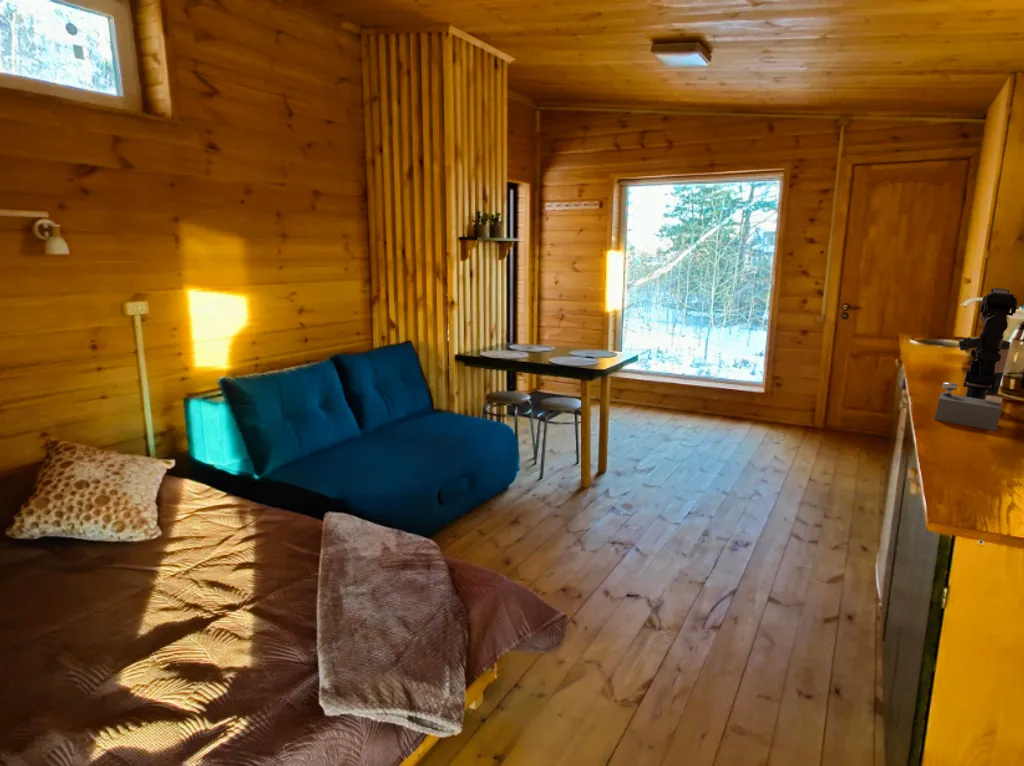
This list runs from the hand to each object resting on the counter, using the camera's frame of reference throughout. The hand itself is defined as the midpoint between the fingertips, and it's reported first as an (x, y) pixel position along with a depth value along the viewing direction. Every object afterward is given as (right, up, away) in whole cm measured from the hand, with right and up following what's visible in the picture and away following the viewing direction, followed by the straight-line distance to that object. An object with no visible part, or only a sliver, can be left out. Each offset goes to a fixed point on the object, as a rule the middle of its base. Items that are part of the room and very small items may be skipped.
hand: (981, 377), depth 213 cm
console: (-12, -14, -9) cm, 20 cm away
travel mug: (+26, -5, +34) cm, 43 cm away
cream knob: (-5, -10, -11) cm, 16 cm away
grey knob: (-15, -6, -5) cm, 17 cm away
